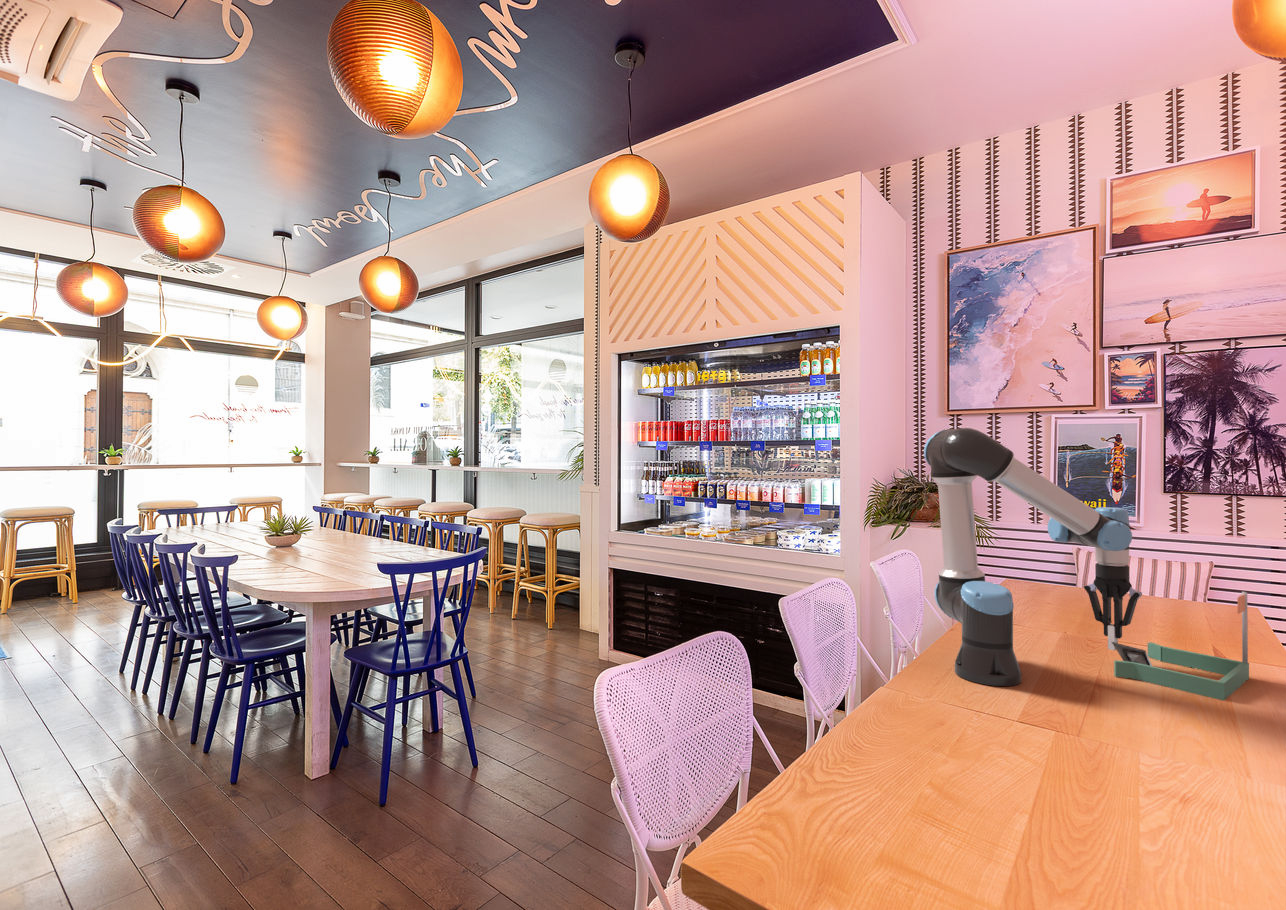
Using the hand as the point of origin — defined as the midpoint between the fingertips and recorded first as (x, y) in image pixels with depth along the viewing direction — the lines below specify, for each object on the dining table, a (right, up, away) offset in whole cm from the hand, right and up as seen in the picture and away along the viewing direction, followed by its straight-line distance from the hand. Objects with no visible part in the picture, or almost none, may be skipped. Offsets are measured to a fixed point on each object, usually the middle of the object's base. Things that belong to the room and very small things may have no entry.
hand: (1113, 648), depth 171 cm
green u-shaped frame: (+9, -3, -12) cm, 15 cm away
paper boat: (+1, -4, -6) cm, 7 cm away
